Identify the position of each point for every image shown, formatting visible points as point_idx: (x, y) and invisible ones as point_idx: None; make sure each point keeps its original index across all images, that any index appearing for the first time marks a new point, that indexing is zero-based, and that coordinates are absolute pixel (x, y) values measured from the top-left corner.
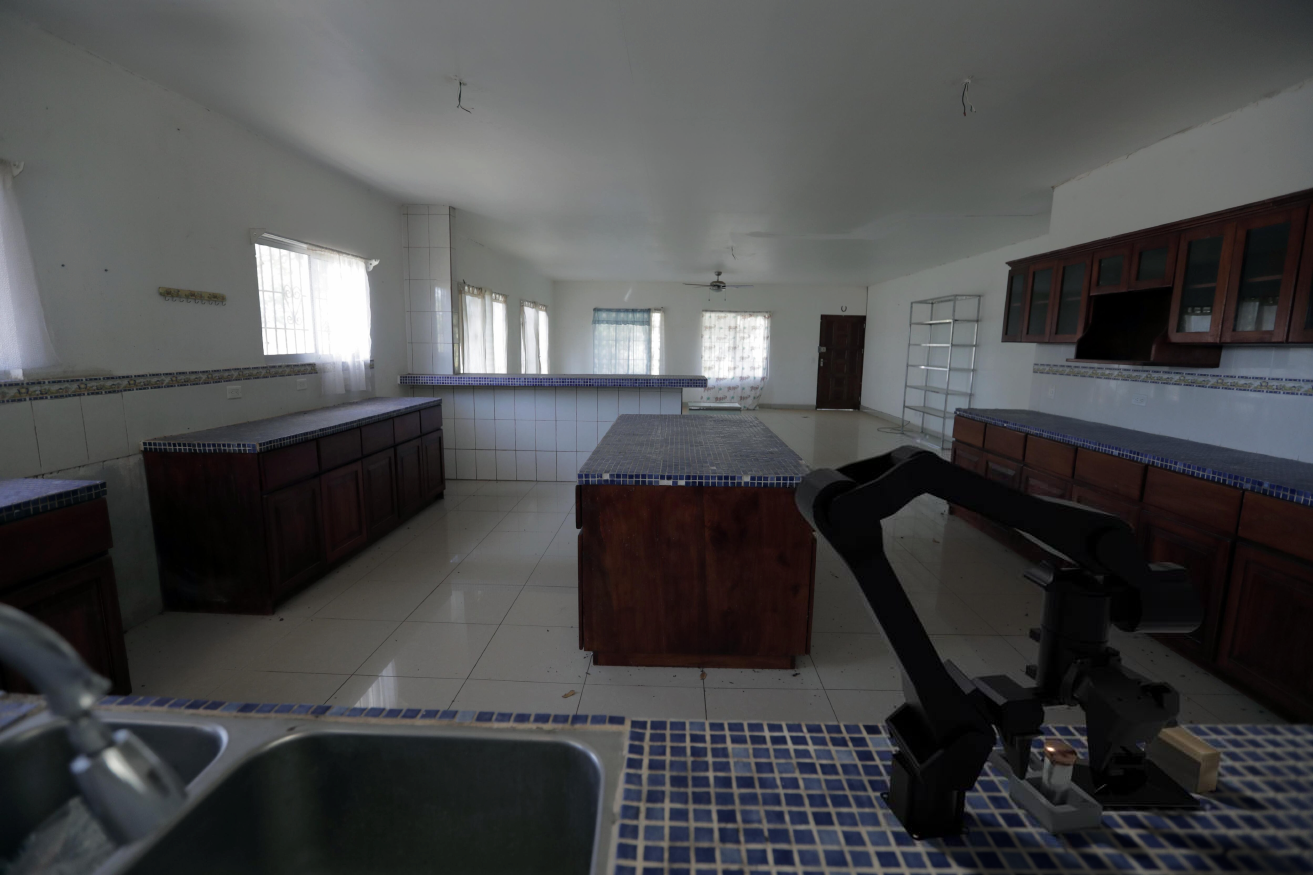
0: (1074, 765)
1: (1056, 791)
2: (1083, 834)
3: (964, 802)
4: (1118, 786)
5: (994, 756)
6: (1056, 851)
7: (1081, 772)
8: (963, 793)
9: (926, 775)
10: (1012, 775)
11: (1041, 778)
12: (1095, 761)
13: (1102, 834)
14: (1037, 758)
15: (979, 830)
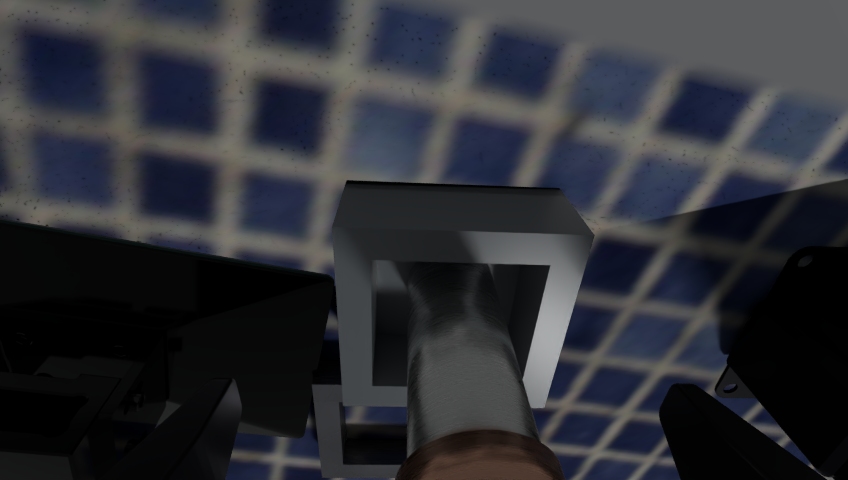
0: None
1: (498, 318)
2: (432, 172)
3: (803, 335)
4: (125, 314)
5: None
6: (614, 125)
7: None
8: (844, 363)
9: None
10: (543, 402)
11: None
12: (224, 426)
13: (358, 158)
14: (321, 439)
15: (766, 250)
